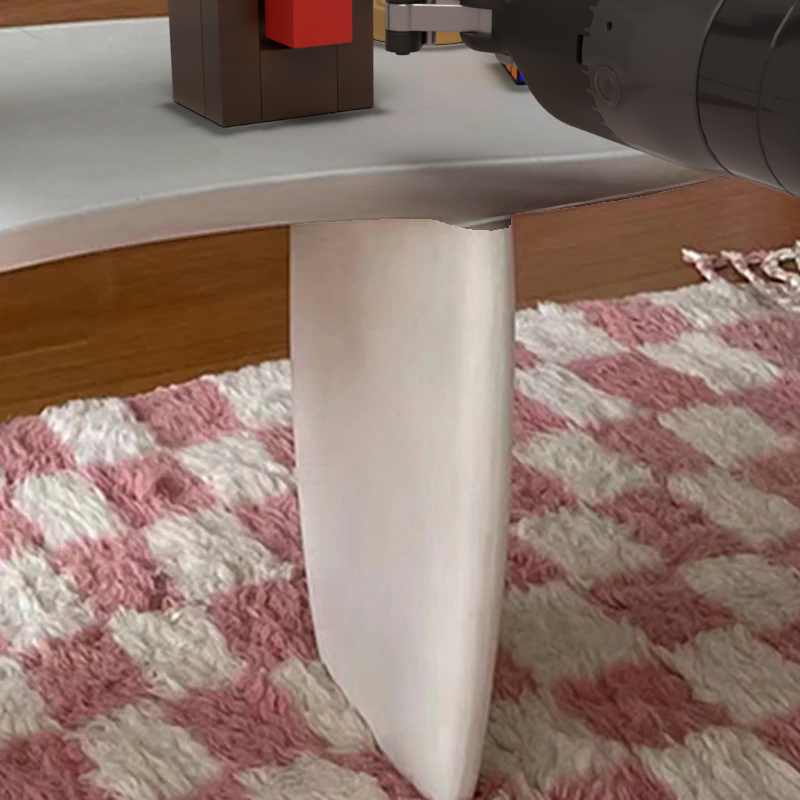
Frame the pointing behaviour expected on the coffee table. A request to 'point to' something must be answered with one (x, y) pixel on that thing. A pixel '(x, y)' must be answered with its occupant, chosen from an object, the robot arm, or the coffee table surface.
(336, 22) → the red button
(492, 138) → the coffee table surface
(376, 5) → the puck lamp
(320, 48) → the switch box
